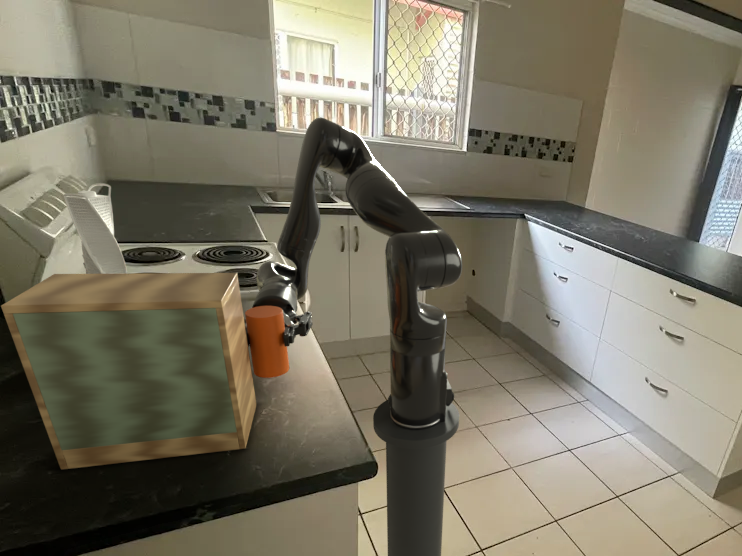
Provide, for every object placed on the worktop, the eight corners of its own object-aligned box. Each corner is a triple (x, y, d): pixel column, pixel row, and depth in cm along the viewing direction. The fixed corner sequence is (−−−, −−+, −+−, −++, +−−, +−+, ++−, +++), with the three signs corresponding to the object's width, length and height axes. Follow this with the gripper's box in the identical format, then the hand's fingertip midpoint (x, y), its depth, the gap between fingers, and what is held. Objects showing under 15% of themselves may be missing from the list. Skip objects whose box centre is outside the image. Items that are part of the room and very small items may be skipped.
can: (290, 361, 86) (284, 304, 81) (288, 376, 81) (281, 317, 77) (256, 364, 84) (247, 306, 80) (251, 379, 79) (242, 318, 75)
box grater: (139, 303, 113) (109, 180, 101) (142, 314, 107) (111, 186, 96) (93, 308, 108) (56, 180, 96) (93, 320, 102) (55, 186, 91)
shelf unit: (256, 404, 79) (237, 272, 70) (245, 448, 69) (221, 300, 60) (98, 418, 72) (53, 273, 63) (60, 469, 62) (0, 305, 53)
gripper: (231, 288, 88) (211, 323, 74) (313, 287, 93) (311, 319, 79) (236, 325, 91) (219, 366, 77) (316, 322, 96) (314, 359, 82)
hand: (265, 342), depth 78 cm, fingers closed on can, 5 cm apart
